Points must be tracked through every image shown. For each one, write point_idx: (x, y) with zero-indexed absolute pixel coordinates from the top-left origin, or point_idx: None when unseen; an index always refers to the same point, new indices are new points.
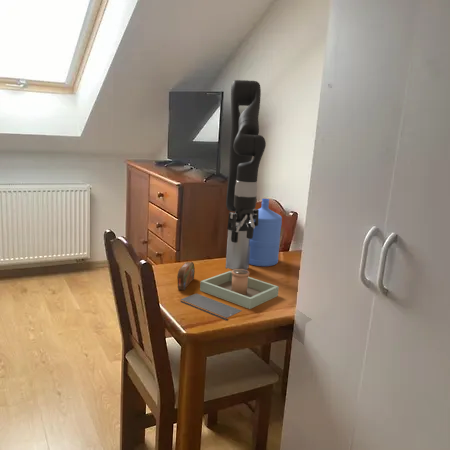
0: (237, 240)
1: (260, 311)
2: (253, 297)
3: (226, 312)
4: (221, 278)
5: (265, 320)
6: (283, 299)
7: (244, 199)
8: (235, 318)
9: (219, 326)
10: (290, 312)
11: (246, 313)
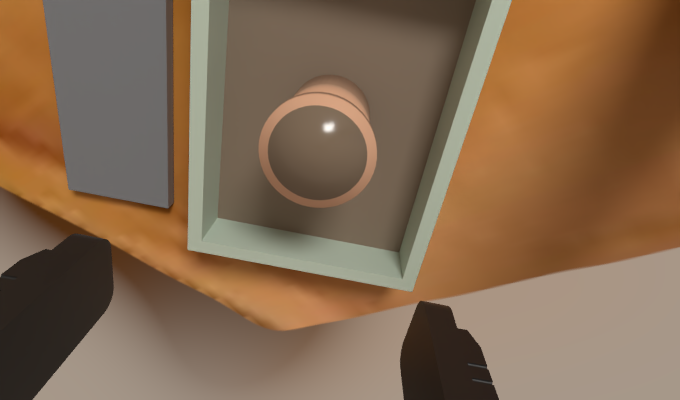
0: (89, 322)
1: None
2: (212, 252)
3: (105, 167)
4: None
5: (188, 284)
6: None
7: None
8: (120, 201)
9: (21, 184)
10: (307, 325)
11: None
